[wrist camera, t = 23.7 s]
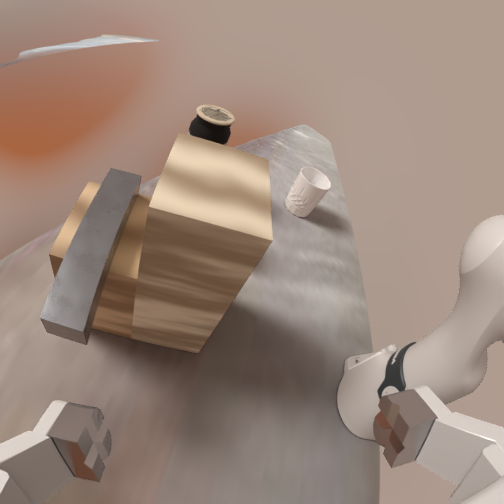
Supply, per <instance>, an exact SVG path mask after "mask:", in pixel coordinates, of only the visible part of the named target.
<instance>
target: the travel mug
mask: <svg viewBox="0 0 504 504" xmlns="http://www.w3.org/2000/svg"><path fill="white" fill-rule="evenodd" d="M234 121H235V118H234V116H233V115H232V114H231V113H230V112H229V111H227V110H225V109H223V108H221V107H218V106H213V105H202V106H199V107H198V108H197V117H196V118H195V119H194V120H193V121H192V122H191V125H190V128H189V131H188V135H191V136H195V137H198V138H202V139H205V140H209V141H212V142H215V143H218V144H222V145H225V146H226V144H227V142H228V139H229V137H230V126H231V124H233V123H234Z"/></svg>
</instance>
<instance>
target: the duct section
mask: <svg viewBox="0 0 504 504" xmlns="http://www.w3.org/2000/svg"><path fill="white" fill-rule="evenodd" d="M141 177H142V176H140V175H136V174H133V173H129V172H125V171H120V170H117V169H112V168H111V169H110V171H109V172H108V174H107V176H106V177H105V179H104V181H103V182H102V184H101V186H100V188H99V189H98V191H97V193H96V195H95V197H94V198H93V200H92V202H91V204H90V206H89V208H88V209H87V211H86V213H85V215H84V217H83V219H82V221H81V223H80V225H79V227H78V229H77V231H76V233H75V235H74V237H73V239H72V241H71V243H70V245H69V248H68V250H67V252H66V254H65V256H64V259H63V261H62V263H61V265H60V268H59V270H58V272H57V275H56V277H55V280H54V282H53V285H52V287H51V290H50V292H49V295H48V297H47V300H46V303H45V305H44V308H43V311H42V314H41V316H40V319H41V321H42V323H43V325H44V327H45V329H46V331H47V332H48V333H51V334H54V335H57V336H60V337H63V338H66V339H69V340H72V341H75V342H78V343H82V344H85V345H87V343H88V339H89V336H90V332H91V328H92V324H93V321H94V317H95V314H96V310H97V307H98V304H99V300H100V297H101V294H102V291H103V288H104V285H105V281H106V278H107V275H108V272H109V270H110V267H111V264H112V261H113V258H114V255H115V252H116V250H117V247H118V244H119V242H120V239H121V236H122V234H123V231H124V229H125V226H126V223H127V221H128V218H129V216H130V213H131V211H132V209H133V206H134V204H135V201H136V199H137V197H138V194H139V188H140V182H141Z"/></svg>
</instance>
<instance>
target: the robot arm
mask: <svg viewBox="0 0 504 504" xmlns="http://www.w3.org/2000/svg"><path fill="white" fill-rule="evenodd" d="M459 274H460V288H459V294H458V298H457V301H456V304H455V307H454V309H453V310H452V312H451V314H450V315H449V317H448V318H447V319H446V320H445V321H444V322H443V323H442V324H441V325H440V326H439V327H438V328H436V329H435V330H434V331H432V332H431V333H430V334H428V335H427V336H425V337H424V338H423V339H421V340H420V341H418V342H413V343H410V344H408V345H406V346H404V347H402V348H400V349H399V350H398V349H397V346H396V345H395V344H393V345H390V346H388V347H387V348H384V349H382V350H380V352H375V353H369V354H364V355H358V356H352V357H349V358H347V359H346V360H345V366H344V375H343V378H342V380H341V382H340V384H339V388H338V394H337V403H338V409H339V413H340V416H341V418H342V420H343V422H344V424H345V425H346V427H347V428H348V429H349V430H350V431H351V432H352V433H353V434H355V435H356V436H358V437H360V438H363V439H370V440H375V441H377V443H378V444H379V445H381V446H383V447H385V450H384V453H383V454H384V456H385V457H386V459H387V461H388V463H389V465H390V466H391V468H393V467H397V466H400V465H403V464H406V463H409V462H412V461H416V463H418V464H420V465H421V466H423V467H425V468H426V469H428V470H430V471H432V472H433V473H435V474H437V475H438V476H440V477H442V478H444V479H445V480H447V481H449V482H451V483H453V484H454V485H457V486H458V487H457V488H456V490H455V491H454V492H453V494H452V495H451V496H450V499H449V502H450V503H451V504H504V427H501V426H498V425H494V424H491V423H488V422H485V421H482V420H479V419H476V418H473V417H470V416H467V415H463V414H460V413H458V412H454V413H452V412H451V411H450V410H449V409H448V408H447V407H446V406H445V404H448V403H450V402H452V401H455V400H457V399H459V398H461V397H463V396H466V395H467V394H470V393H472V392H473V391H474V390H475V389H476V388H477V387H478V386H479V385H480V383H481V382H482V380H483V378H484V376H485V374H486V370H487V348H488V347H489V346H490V345H491V344H493V343H494V342H496V341H500V340H502V342H504V215H497V216H493V217H490V218H488V219H486V220H484V221H483V222H481V223H480V224H478V226H476V227H475V228H474V229H473V231H472V232H471V233H470V235H469V236H468V238H467V239H466V241H465V244H464V246H463V249H462V252H461V257H460V263H459ZM103 419H104V416H103V414H102V411H101V409H99V408H97V407H91V406H86V405H80V404H75V403H70V402H69V403H68V402H64V401H59V400H55V401H53V402H52V403H51V405H50V406H49V407H48V409H47V410H46V412H45V413H44V415H43V416H42V418H41V419H40V421H39V422H38V424H37V425H36V427H35V428H34V430H33V431H27V432H25V433H22V434H20V435H18V436H16V437H14V438H12V439H10V440H8V441H5V442H3V443H1V444H0V504H43V503H44V502H46V501H47V500H48V499H50V498H51V497H52V496H54V495H55V494H56V493H57V492H59V491H60V490H61V489H62V488H64V487H65V486H66V485H67V484H69V483H70V482H71V481H72V480H74V479H75V477H77V478H81V479H86V480H90V481H95V482H100V480H101V477H102V474H103V471H104V469H105V465H104V463H103V461H102V460H104V459H105V458H107V457H108V456H109V454H110V451H111V445H112V439H111V434H110V431H109V429H108V427H106V426H105V425H104V424H103V423H102V421H103Z"/></svg>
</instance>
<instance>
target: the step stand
mask: <svg viewBox="0 0 504 504" xmlns="http://www.w3.org/2000/svg"><path fill="white" fill-rule="evenodd" d="M100 186H101V184H97V183H92V182H88V184H87V186H86V187H85V189H84V191H83V192H82V194H81V196H80V197H79V199H78V201H77V202H76V204H75V206H74V208H73V209H72V211H71V213H70V215H69V217H68V218H67V220H66V222H65V224H64V226H63V228H62V229H61V231H60V233H59V235H58V237H57V239H56V241H55V243H54V245H53V247H52V249H51V251H50V253H49V256H50V260H51V265H52V269H53V273H54V276H55V277H56V275H57V272H58V270H59V268H60V265H61V263H62V261H63V259H64V256H65V254H66V252H67V250H68V248H69V245H70V243H71V241H72V239H73V237H74V235H75V233H76V231H77V229H78V227H79V225H80V223H81V221H82V219H83V217H84V215H85V213H86V211H87V209H88V208H89V206H90V204H91V202H92V200H93V198H94V197H95V195H96V193H97V191H98V189H99V188H100ZM272 241H273V238H272V217H271V198H270V180H269V163H268V160H267V159H265V158H262V157H259V156H256V155H253V154H250V153H247V152H244V151H241V150H238V149H234V148H231V147H228V146H225V145H222V144H218V143H215V142H212V141H209V140H205V139H202V138H198V137H195V136H191V135H188V134H184V133H181V132H180V133H179V134H178V137H177V139H176V141H175V143H174V146H173V148H172V150H171V153H170V155H169V157H168V159H167V162H166V164H165V167H164V169H163V171H162V174H161V176H160V179H159V181H158V184H157V186H156V189H155V191H154V194H153V197H152V198H151V197H147V196H143V195H140V194H138V197H137V199H136V201H135V204H134V206H133V209H132V211H131V213H130V216H129V218H128V221H127V223H126V226H125V229H124V231H123V234H122V236H121V239H120V242H119V244H118V247H117V250H116V252H115V255H114V258H113V261H112V264H111V267H110V270H109V272H108V275H107V278H106V281H105V285H104V288H103V291H102V294H101V297H100V300H99V304H98V307H97V310H96V314H95V317H94V321H93V324H92V328H93V329H97V330H100V331H104V332H107V333H111V334H115V335H118V336H122V337H126V338H130V339H134V340H138V341H142V342H146V343H151V344H155V345H160V346H164V347H169V348H173V349H178V350H183V351H188V352H193V353H199V351H200V350H201V348H202V347H203V345H204V344H205V342H206V341H207V339H208V338H209V336H210V335H211V333H212V332H213V330H214V329H215V327H216V326H217V324H218V323H219V321H220V320H221V318H222V317H223V315H224V314H225V312H226V311H227V309H228V308H229V306H230V305H231V303H232V302H233V300H234V299H235V297H236V296H237V294H238V293H239V291H240V290H241V288H242V287H243V285H244V284H245V282H246V281H247V279H248V278H249V276H250V274H251V273H252V271H253V270H254V268H255V267H256V265H257V264H258V262H259V261H260V259H261V258H262V256H263V255H264V253H265V252H266V250H267V249H268V247H269V246H270V244H271V243H272Z"/></svg>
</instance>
